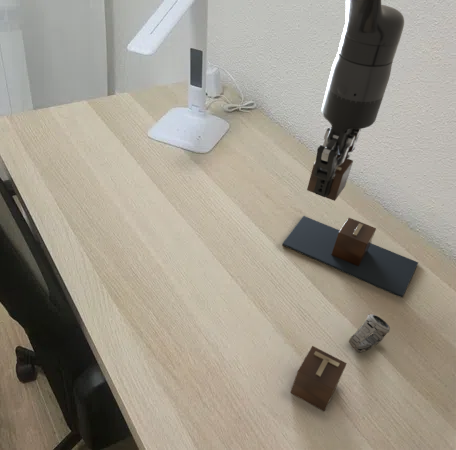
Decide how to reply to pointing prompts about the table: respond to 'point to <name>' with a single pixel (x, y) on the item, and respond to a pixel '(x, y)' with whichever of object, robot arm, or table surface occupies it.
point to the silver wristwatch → (369, 333)
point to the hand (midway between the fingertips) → (327, 185)
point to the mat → (367, 270)
